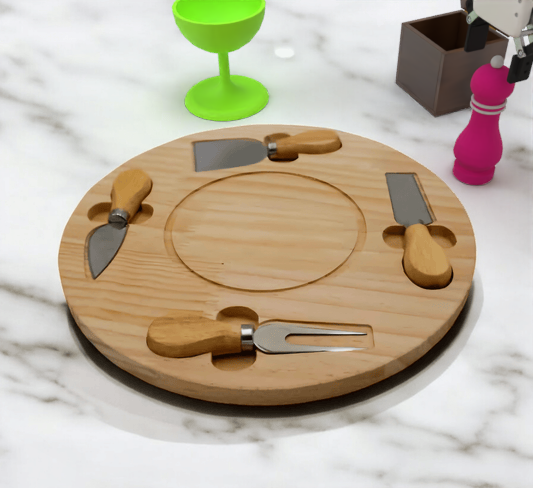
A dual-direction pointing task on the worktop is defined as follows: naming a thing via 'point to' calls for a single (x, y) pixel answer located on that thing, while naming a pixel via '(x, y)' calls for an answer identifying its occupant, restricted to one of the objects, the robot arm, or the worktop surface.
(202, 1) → the wineglass
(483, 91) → the pepper mill
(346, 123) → the worktop surface
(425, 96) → the chest
